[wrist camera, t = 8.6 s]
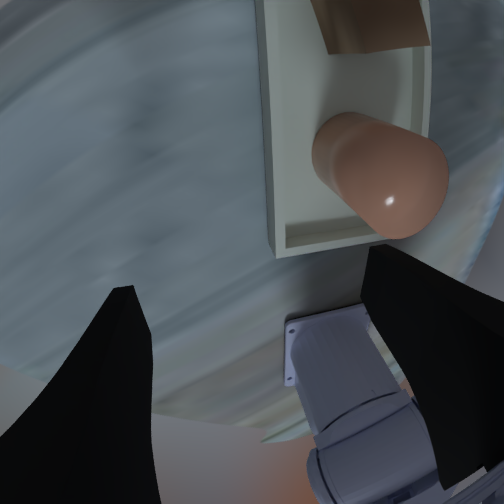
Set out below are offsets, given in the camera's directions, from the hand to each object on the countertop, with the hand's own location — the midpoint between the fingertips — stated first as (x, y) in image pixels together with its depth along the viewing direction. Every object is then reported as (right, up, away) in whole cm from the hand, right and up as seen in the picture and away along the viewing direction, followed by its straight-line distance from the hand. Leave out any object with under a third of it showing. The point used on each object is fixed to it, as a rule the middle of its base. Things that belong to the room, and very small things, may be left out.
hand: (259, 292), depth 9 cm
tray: (+5, +10, +7) cm, 13 cm away
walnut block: (+5, +14, +4) cm, 15 cm away
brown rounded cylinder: (+6, +7, +8) cm, 12 cm away
